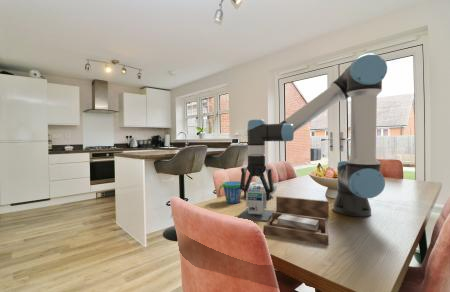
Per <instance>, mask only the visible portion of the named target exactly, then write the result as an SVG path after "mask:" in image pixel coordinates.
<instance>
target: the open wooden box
mask: <svg viewBox="0 0 450 292" xmlns="http://www.w3.org/2000/svg"><path fill="white" fill-rule="evenodd" d="M329 201H330V200H323V199H321V200H320V199H310V198H309V199H308V198H300V197H299V198H298V197H290V196H289V197H287V196H280V195H279V196H278V195H277V196H276V201H275V203H276V205H275V206H276V209H275V212H272V216H271V218H270V219H269V221H268V222H266V224H263V235H265V236H267V235H268V236H273V237H280V238H286V239H289V240H290V239H292V240H298V241H302V242H303V241H305V242H309V243H315V244H321V245H326V244H327V245H329V243H330V242H329V241H330V240H329V239H330V238H329V236H330V234H329V221H330V220H329V219H330V218H329V211H330V210H329V209H330V207H329V204H330V202H329ZM282 214H285V215H291V216H297V217H302V218H308V219H314V220H319V226H318V230H321V233H317V232H310V231H303V230H296V229H290V228H283V227H276V226H272V223H273V221H274V220H275V219H276V218H278V217H279V216H281V215H282ZM327 245H326V246H327Z"/></svg>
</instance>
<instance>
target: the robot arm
mask: <svg viewBox="0 0 450 292" xmlns="http://www.w3.org/2000/svg"><path fill="white" fill-rule="evenodd" d="M387 73H388V65H387V62H386V60H385V59H384V58H383V57H382V56H380V55H378V54H374V53H366V54H363V55H360V56H359V57H357V58H356V59H354V60H353V61H352V62H351V63H350V64H349V66H348V67H347V68H346V69H345V70H344V71H343V72H342V73H341V75H339V76H338V77H337V78H336V79H335V80H334V81H333V82H331V83H330V87H328V88H327V89H325V90H323V92H321V93H320V94H319V95H317V96H316V97H314V98H313V99H312V100H310V101H308V102H307V103H306V104H304V105H303V106H302V107H300V108H298V110H296V111H294V112H293V113H292V114H291V115H289V116H287V117H286V118H285V119H283V120H282V121H281V122H279V123H266V120H264V119H257V118H256V119H250V120H248V121H247V130H246V133H247V154H248V155H247V166H246V167H245V166H244V167H241V168H240V170H241V177H240V182H241V183H240V190H241V191H243V198H244V199H245V200H246V201H245V207H247V208H248V188H249V186H250V183H251V182H252V180H253V178H254V177H259V179H260V182H262V184H263V186H264V189H265V191H266V192H265V193H264V210H267V208H268V206H269V205H268V202H269V201H270V198H271V197H270V196H271V195H270V193H271V192H273V191H274V186H273V183H274V181H273V168H269V167H267V166H266V156H265V154H266V142H284V143H285V142H286V143H287V142H292V141H294V135H295V133H296V132H297V131H298V130H300V129H301V128H302V127H304V126H306V125H307V124H308V123H310V122H311V121H312V120H314V119H316V118H317V117H319V116H320V115H321V114H323V113H324V112H325V111H327V110H328V109H330V108H331V107H333V106H334V105H336V104H337V103H339V102H340V101H346V100H347V99H348V98H350V150H349V151H350V155H349V156H350V157H349V159H347V160H342V161H341V160H340V161H339V162H337V193H336V196H335V199H334V202H333V203H332V204H333V205H332V207H333V209H332V210H333V211H334V212H336V213H337V214H340V215H344V216H350V217H361V218H363V217H369V216H371V214H372V208H371V204H370V202H369V199H373V198H376V197H378V196H379V195H380V194H382V192H383V191H384V189H385V187H386V180H385V177H384V175H383V174H382V173H381V162H380V160H378V159H377V112H378V111H377V105H378V104H377V100H378V96H379V94H380V93H382V91H383V90H382V89H383V87H382V85H383V80H384V78H385V77H386V75H387ZM247 171H248V173H249V175H248V178H247V179H246V176H247ZM265 172H266V174H267V179H268V180H266V178H265ZM246 180H247V181H246ZM267 182H269V187H268V185H267ZM244 185H245V186H244ZM269 188H270V189H269Z"/></svg>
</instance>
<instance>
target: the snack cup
mask: <svg viewBox="0 0 450 292" xmlns="http://www.w3.org/2000/svg"><path fill="white" fill-rule="evenodd" d="M240 183H241V181H238V180H237V181H236V180H235V181H234V180H233V181H230V180H229V181H224V182H223V183H222V184H220V186H219V188H218V191H217V194H218V197H219V198H221V189H222V188H223V192H224V196H225V201H226V203H228V204H239V203H240V202H241V196H242V190H240ZM245 185H246V184H245ZM245 185H244V187H245Z"/></svg>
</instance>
